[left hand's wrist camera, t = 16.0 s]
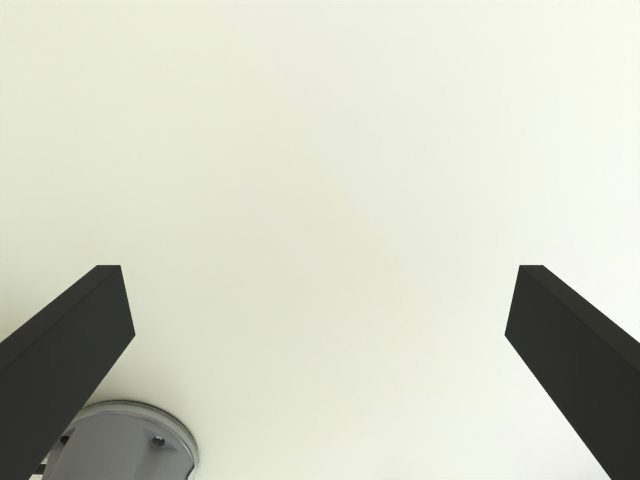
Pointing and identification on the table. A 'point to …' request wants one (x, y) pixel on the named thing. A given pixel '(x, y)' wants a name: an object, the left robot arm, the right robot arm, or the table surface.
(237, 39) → the table surface
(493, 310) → the table surface
